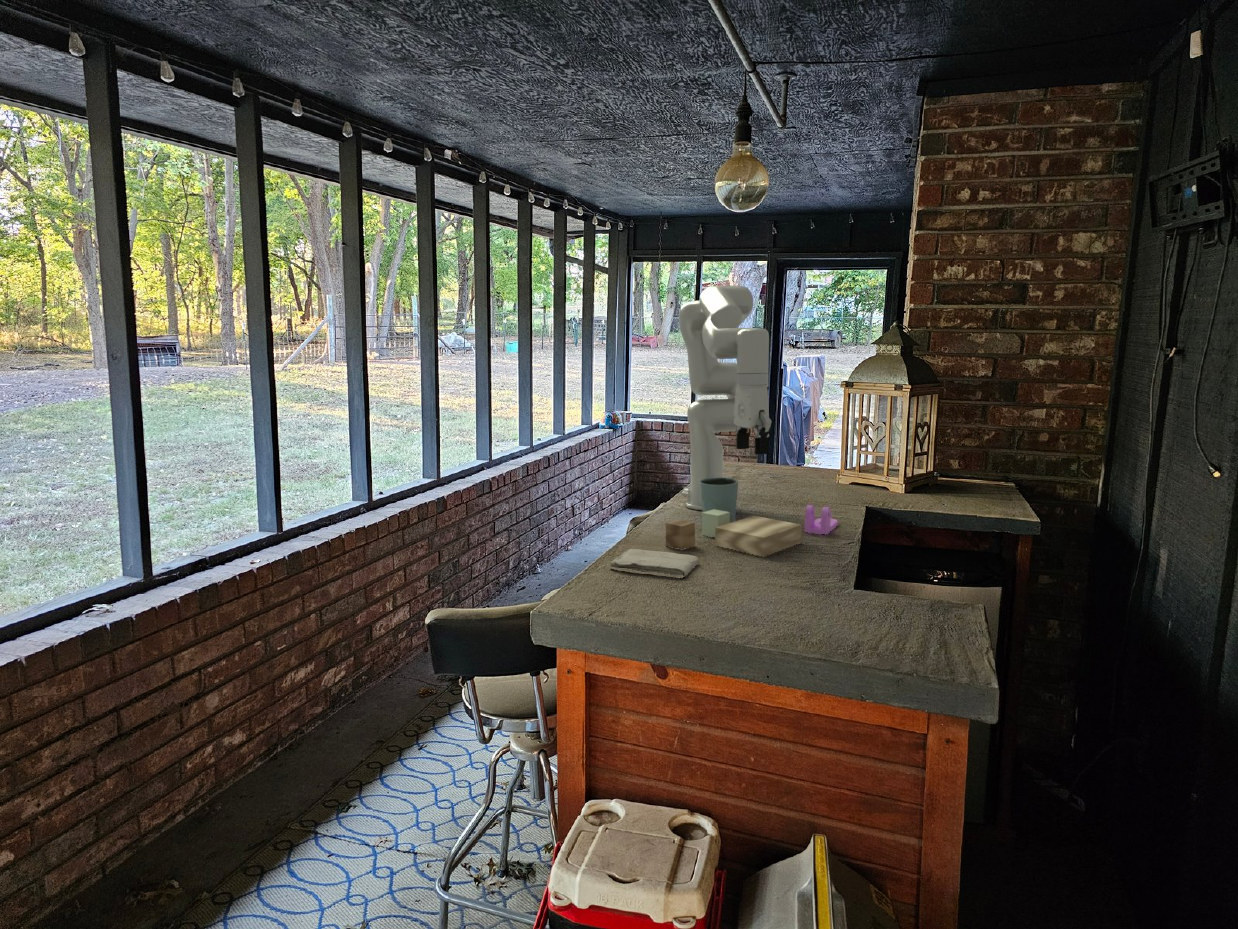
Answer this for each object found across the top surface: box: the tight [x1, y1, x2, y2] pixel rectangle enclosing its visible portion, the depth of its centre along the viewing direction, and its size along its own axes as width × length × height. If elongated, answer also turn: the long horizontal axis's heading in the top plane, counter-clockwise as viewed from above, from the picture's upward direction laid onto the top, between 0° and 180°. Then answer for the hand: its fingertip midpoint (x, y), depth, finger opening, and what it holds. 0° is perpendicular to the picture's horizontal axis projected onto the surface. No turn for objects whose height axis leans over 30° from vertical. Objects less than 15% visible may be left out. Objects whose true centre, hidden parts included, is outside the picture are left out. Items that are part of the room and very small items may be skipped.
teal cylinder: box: [700, 476, 739, 523], centre depth 207 cm, size 10×10×12 cm
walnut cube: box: [665, 518, 696, 549], centre depth 188 cm, size 5×5×6 cm
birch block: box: [714, 515, 803, 558], centre depth 189 cm, size 14×16×5 cm
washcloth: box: [609, 548, 700, 577], centre depth 172 cm, size 12×18×3 cm, turn 69°
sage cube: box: [701, 509, 730, 538], centre depth 197 cm, size 5×5×6 cm
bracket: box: [804, 504, 839, 536], centre depth 203 cm, size 13×6×7 cm, turn 149°
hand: (751, 451), depth 188 cm, fingers open, 9 cm apart
